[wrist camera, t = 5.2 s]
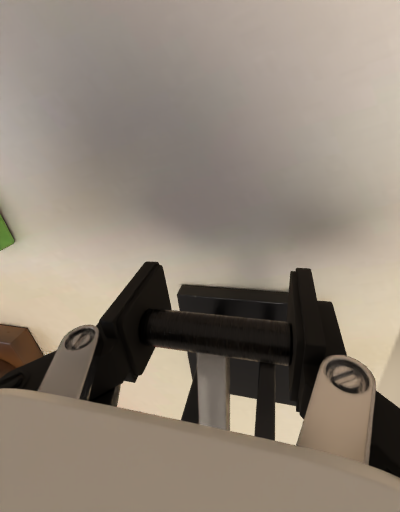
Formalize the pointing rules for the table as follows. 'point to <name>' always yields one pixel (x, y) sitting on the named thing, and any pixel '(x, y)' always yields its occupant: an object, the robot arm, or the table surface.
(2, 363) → the button block
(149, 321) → the lever
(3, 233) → the ink box
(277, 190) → the table surface
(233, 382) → the bracket
